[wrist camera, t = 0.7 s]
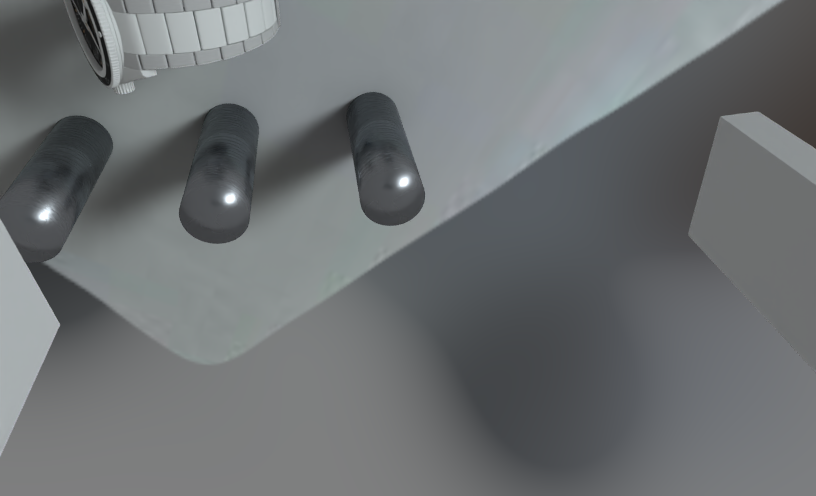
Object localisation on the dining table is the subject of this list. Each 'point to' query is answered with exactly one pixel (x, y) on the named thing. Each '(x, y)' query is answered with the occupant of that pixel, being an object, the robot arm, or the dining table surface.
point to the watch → (166, 34)
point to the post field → (204, 176)
